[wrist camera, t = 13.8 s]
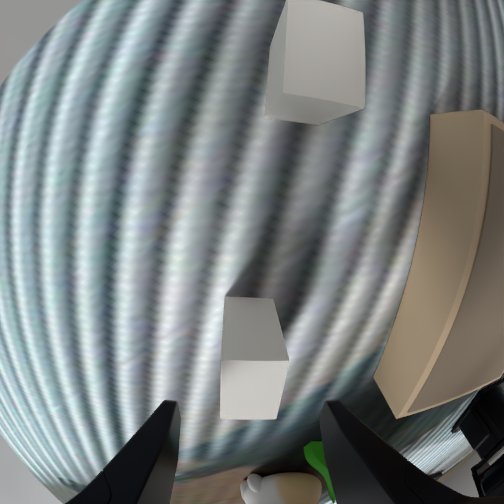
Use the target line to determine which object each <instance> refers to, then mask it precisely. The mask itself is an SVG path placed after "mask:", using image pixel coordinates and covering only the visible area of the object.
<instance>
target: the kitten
mask: <svg viewBox="0 0 504 504" xmlns="http://www.w3.org/2000/svg"><path fill="white" fill-rule="evenodd" d="M304 455H305V457H306V460H307V462H308V463H309V464H310V465H311V466H312V467H314V468H315V469H316V470H318V471H319V472H320V473H321V474H322V475H323V477H324V479H325V480H326V484H327V489H328V493H329V496H330V498H331V500H332V502H333V503H334V502H335V495H334V491H333V488H332V484H331V480H330V477H329V473H328V469H327V466H326V462H325V458H324V451H323V444H322V441H316V442H315V441H311V442H310V443H309V444H307V445H306V446H304ZM321 492H322V485H321V482H320V480H319V479H318V478H317V477H316V476H314V475H311V474H308V473H299V472H288V473H279V474H273V475H269V476H266V477H263V478H262V477H261V476H260V475H258V474H250V475H249V476H248V478H247V480H244V481H243V482H242V483H241V495H242V498H243V500H244V501H245V503H246V504H318V502H319V499H320V496H321Z"/></svg>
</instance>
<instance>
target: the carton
mask: <svg viewBox="0 0 504 504" xmlns="http://www.w3.org/2000/svg"><path fill="white" fill-rule="evenodd" d="M503 372H504V123H503V122H502V121H500V120H499V119H497V118H496V117H494V116H493V115H491V114H490V113H488V112H487V111H485V110H484V109H483V110H468V111H457V112H447V113H438V114H430V144H429V159H428V170H427V180H426V188H425V196H424V203H423V209H422V215H421V221H420V227H419V232H418V237H417V242H416V246H415V251H414V255H413V260H412V264H411V268H410V272H409V276H408V279H407V283H406V287H405V290H404V294H403V297H402V300H401V304H400V307H399V310H398V313H397V316H396V319H395V322H394V325H393V328H392V331H391V333H390V336H389V339H388V342H387V344H386V347H385V350H384V352H383V355H382V357H381V360H380V362H379V364H378V367H377V369H376V372H375V374H374V376H373V378H374V380H375V381H376V383H377V385H378V387H379V388H380V390H381V392H382V394H383V396H384V397H385V399H386V401H387V403H388V405H389V406H390V408H391V410H392V412H393V414H394V416H395V417H396V419H398V418H401V417H405V416H408V415H412V414H415V413H418V412H421V411H424V410H427V409H430V408H433V407H436V406H439V405H441V404H444V403H447V402H449V401H452V400H454V399H457V398H459V397H461V396H464V395H466V394H468V393H471V392H473V391H475V390H477V389H479V388H481V387H484V386H486V385H488V384H490V383H492V382H494V381H496V380H497V379H499V378H500V377H501V376H502V374H503Z"/></svg>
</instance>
